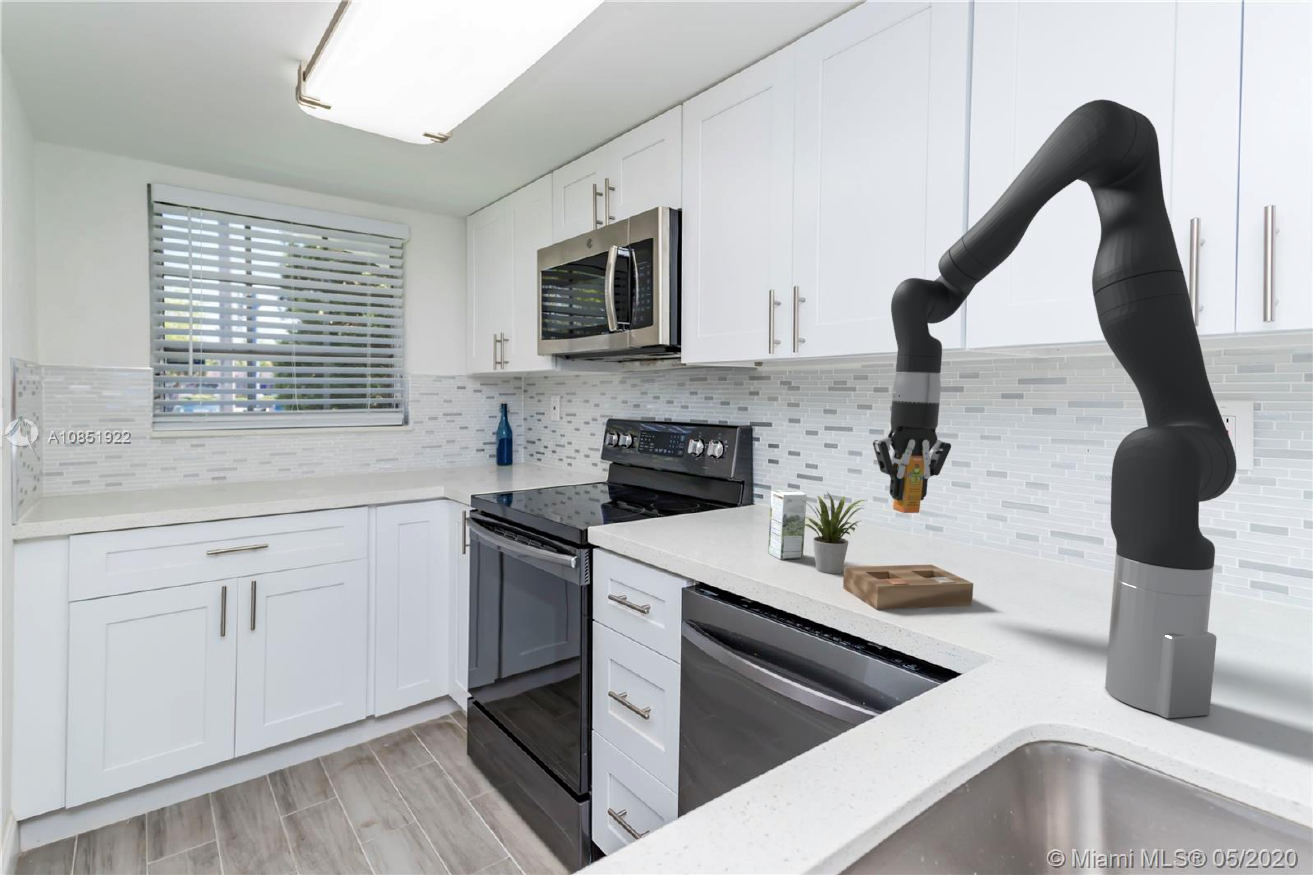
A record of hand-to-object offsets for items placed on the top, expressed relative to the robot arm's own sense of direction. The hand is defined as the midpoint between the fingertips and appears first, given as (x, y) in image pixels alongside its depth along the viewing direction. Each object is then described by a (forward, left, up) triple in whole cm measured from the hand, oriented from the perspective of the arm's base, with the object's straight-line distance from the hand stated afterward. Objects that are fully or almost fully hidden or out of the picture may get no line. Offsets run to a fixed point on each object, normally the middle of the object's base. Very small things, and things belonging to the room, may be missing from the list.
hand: (907, 498), depth 111 cm
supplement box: (0, 0, -2) cm, 2 cm away
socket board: (+3, -3, -18) cm, 19 cm away
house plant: (+20, +2, -18) cm, 27 cm away
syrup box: (+32, +8, -18) cm, 38 cm away
